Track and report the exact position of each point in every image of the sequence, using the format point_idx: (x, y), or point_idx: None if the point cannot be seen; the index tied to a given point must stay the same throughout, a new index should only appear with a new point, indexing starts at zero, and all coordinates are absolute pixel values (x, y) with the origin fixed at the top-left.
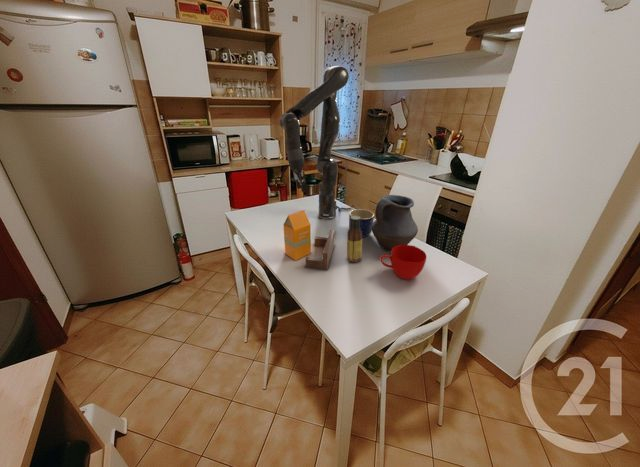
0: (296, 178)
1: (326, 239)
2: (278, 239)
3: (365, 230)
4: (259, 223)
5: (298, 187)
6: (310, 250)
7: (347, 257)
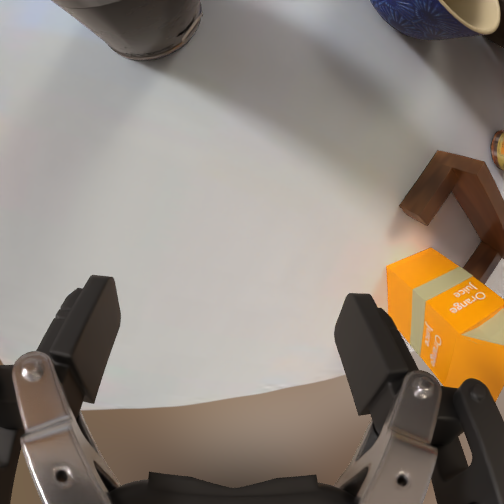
0: (109, 470)
1: (452, 187)
2: (295, 324)
3: (460, 17)
4: (123, 358)
5: (114, 323)
6: (437, 252)
7: (498, 167)
